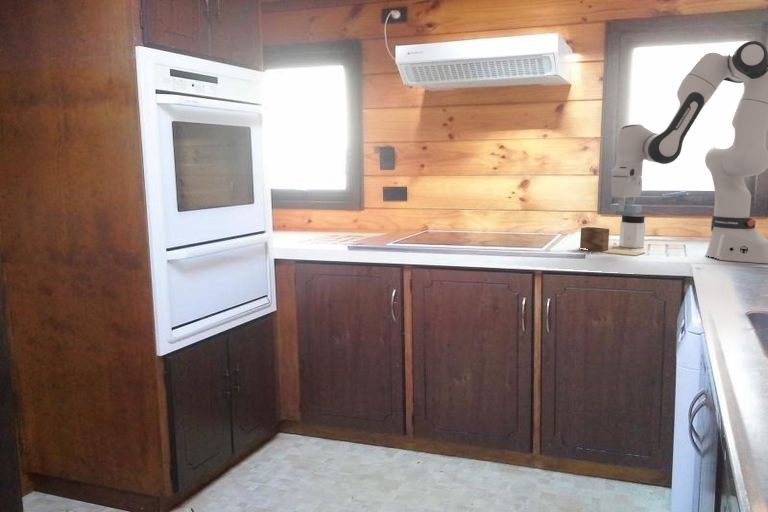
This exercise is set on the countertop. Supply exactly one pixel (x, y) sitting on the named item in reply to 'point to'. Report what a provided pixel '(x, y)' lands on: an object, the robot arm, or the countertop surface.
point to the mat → (623, 252)
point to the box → (594, 239)
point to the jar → (632, 231)
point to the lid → (626, 209)
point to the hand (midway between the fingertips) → (625, 210)
